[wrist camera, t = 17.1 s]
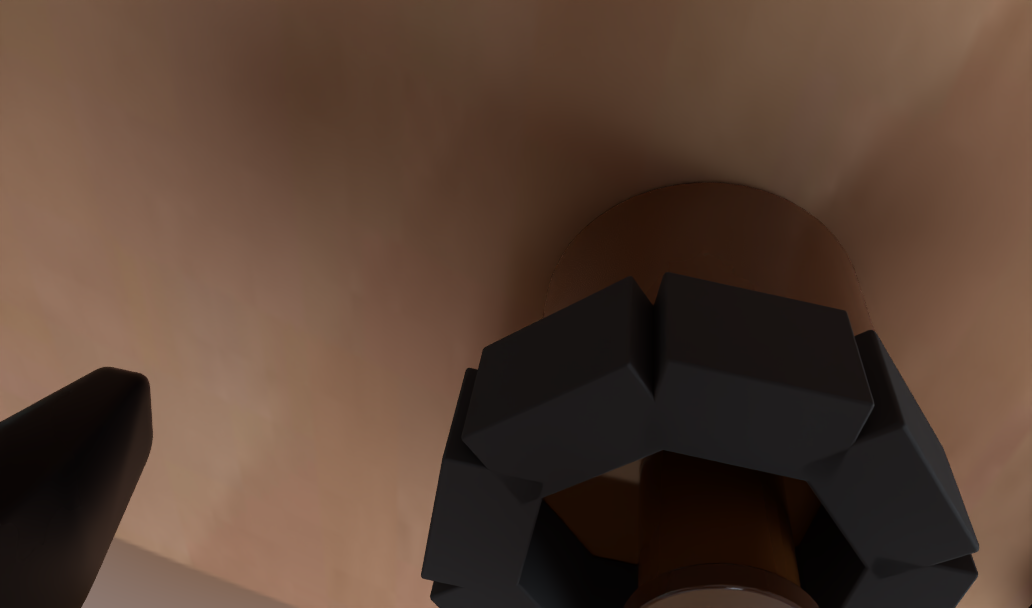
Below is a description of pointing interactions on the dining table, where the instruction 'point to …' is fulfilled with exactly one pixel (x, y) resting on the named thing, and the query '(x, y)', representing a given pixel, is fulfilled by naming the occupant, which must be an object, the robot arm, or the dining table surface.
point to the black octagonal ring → (694, 446)
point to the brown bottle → (687, 479)
